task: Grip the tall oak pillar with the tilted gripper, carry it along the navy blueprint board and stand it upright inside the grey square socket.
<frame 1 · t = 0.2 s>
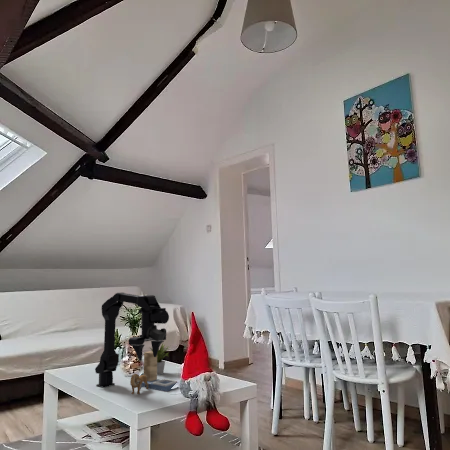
hand: (147, 358, 181), 15 cm above the table, tool pointing down, fingers open, 9 cm apart
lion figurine: (139, 392, 181), on the table
blueprint board: (157, 386, 190), on the table
house plant: (159, 374, 217), on the table
grey socket: (165, 387, 188), resting on blueprint board
oak pillar: (150, 379, 195), point 2 cm above the table, touching blueprint board
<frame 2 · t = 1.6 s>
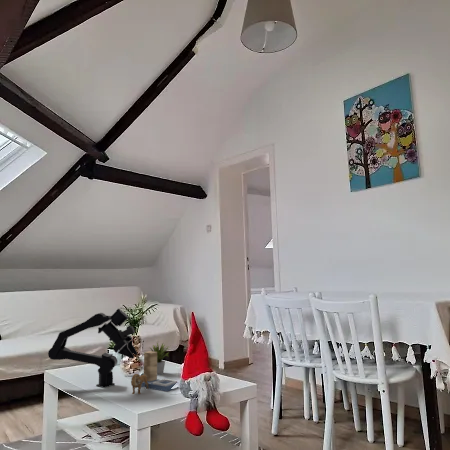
hand: (135, 356, 196), 13 cm above the table, tool tilted 45°, fingers open, 9 cm apart
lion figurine: (140, 392, 181), on the table, touching blueprint board
everything else where it was.
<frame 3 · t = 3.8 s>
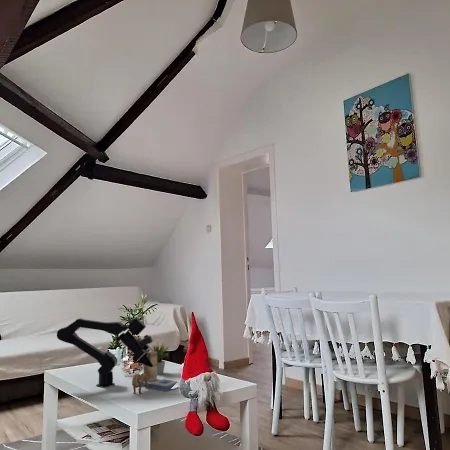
hand: (153, 365, 196), 9 cm above the table, tool tilted 45°, fingers closed on oak pillar, 6 cm apart
oak pillar: (150, 379, 195), point 2 cm above the table, touching blueprint board, gripper
everything else where it was.
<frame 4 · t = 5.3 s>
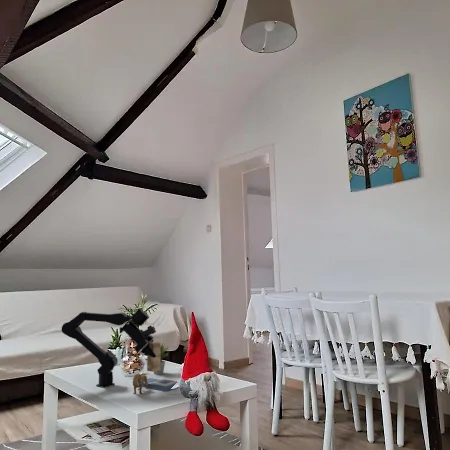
hand: (156, 355, 196), 14 cm above the table, tool tilted 45°, fingers closed on oak pillar, 6 cm apart
oak pillar: (153, 370, 195), point 7 cm above the table, touching gripper
everything else where it was.
when the fingers open (10 cm above the table, at t = 7.1 s): oak pillar drops 1 cm, resting on blueprint board.
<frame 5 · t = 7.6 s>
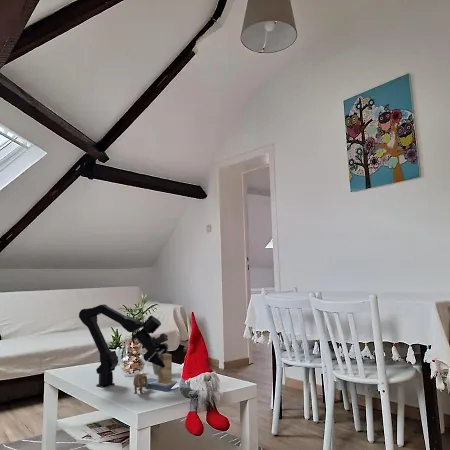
hand: (167, 365, 189), 10 cm above the table, tool tilted 45°, fingers open, 9 cm apart
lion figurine: (141, 392, 181), on the table
oak pillar: (164, 383, 188), point 2 cm above the table, touching blueprint board
everything else where it was.
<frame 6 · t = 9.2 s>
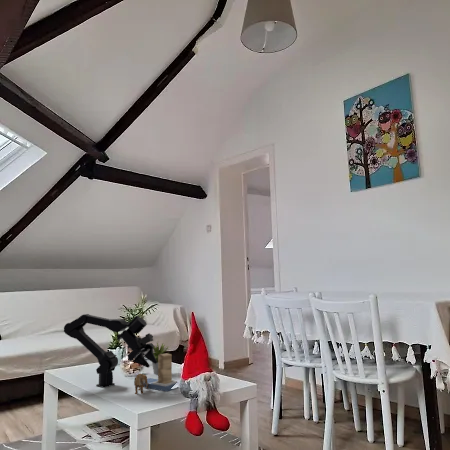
hand: (152, 365, 190), 10 cm above the table, tool tilted 45°, fingers open, 9 cm apart
nothing on the table moved.
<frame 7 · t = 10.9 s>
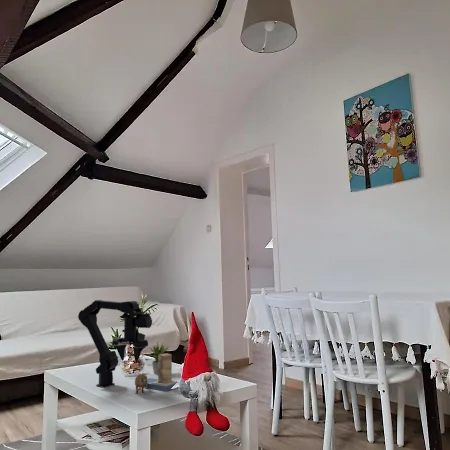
hand: (129, 361, 192), 12 cm above the table, tool pointing down, fingers open, 9 cm apart
nothing on the table moved.
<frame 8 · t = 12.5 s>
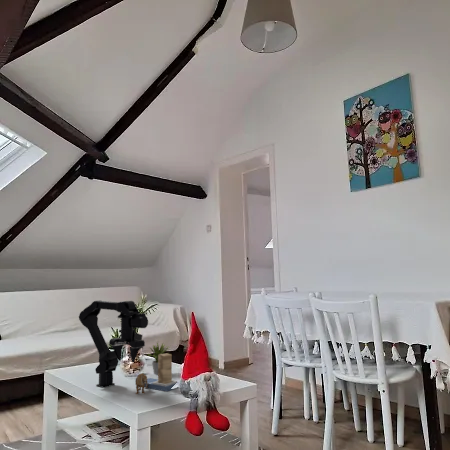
hand: (126, 361, 190), 12 cm above the table, tool pointing down, fingers open, 9 cm apart
nothing on the table moved.
at the end: oak pillar 0.1 cm off-centre on the grey socket, point 2.0 cm above the grey socket's base; oak pillar tilted 0°; the gripper is holding nothing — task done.
